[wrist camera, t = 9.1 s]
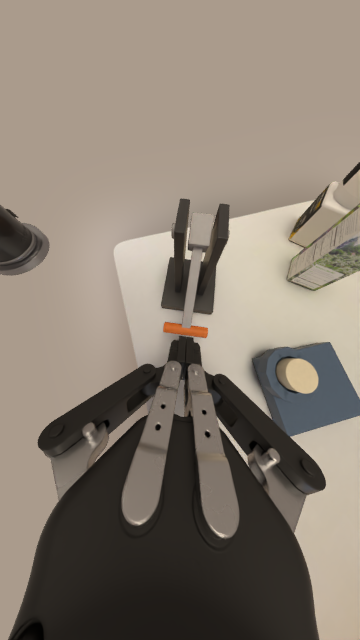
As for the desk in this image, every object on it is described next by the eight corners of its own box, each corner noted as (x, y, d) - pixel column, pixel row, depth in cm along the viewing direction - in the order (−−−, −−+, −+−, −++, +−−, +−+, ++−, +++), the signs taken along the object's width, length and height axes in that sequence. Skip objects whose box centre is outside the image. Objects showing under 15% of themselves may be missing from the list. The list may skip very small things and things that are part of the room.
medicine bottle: (297, 219, 30) (372, 135, 19) (327, 232, 29) (425, 153, 18) (287, 240, 28) (364, 161, 17) (319, 254, 28) (422, 182, 16)
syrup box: (318, 269, 27) (475, 173, 13) (314, 292, 25) (487, 213, 11) (291, 259, 27) (413, 156, 13) (285, 281, 26) (417, 192, 12)
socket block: (269, 430, 19) (294, 449, 15) (244, 353, 22) (258, 353, 18) (347, 407, 20) (388, 419, 16) (313, 337, 23) (341, 334, 19)
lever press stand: (211, 314, 23) (250, 267, 11) (161, 307, 23) (145, 253, 11) (214, 267, 26) (249, 188, 14) (170, 261, 26) (165, 177, 14)
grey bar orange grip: (204, 334, 18) (207, 341, 16) (165, 329, 18) (162, 335, 16) (224, 228, 15) (231, 216, 13) (176, 222, 15) (175, 209, 13)
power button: (282, 393, 17) (294, 397, 15) (270, 361, 18) (280, 362, 16) (310, 386, 17) (324, 389, 15) (296, 355, 18) (309, 355, 17)
